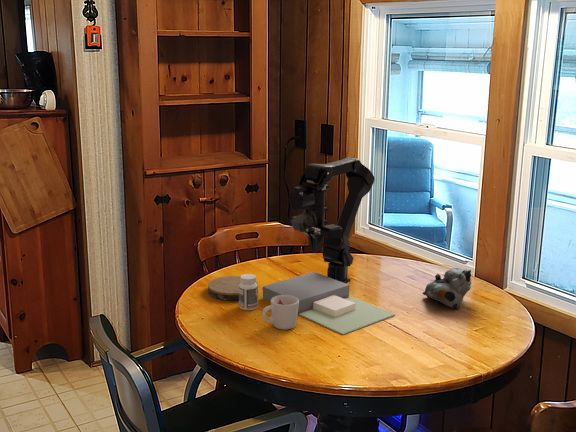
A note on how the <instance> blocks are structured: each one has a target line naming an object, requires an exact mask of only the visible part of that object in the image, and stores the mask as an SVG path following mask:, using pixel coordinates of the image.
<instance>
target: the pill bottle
mask: <svg viewBox="0 0 576 432" xmlns="http://www.w3.org/2000/svg"><path fill="white" fill-rule="evenodd" d="M240 280H241V283H240V284H239V301H238V305H239V306H238V308H240V310H244V311H254V310H257V309H258V306H259V296H258V295H259V284H258V285H257V283H258V282H257V276H256V275H255V274H252V273H244V274H241V277H240ZM255 281H256V282H257V283H256V282H255Z"/></svg>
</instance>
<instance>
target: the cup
mask: <svg viewBox="0 0 576 432" xmlns="http://www.w3.org/2000/svg"><path fill="white" fill-rule="evenodd" d="M298 307H299V299H298V298H296V297H294V296H290V295H278V296H275V297H273V298H272V299H271V302H270V305H267V306H264V308H263V310H262V313H261V314H262V319H263V321H264V322H266V323H272V325H273V326H274V327H275V328H277V329H280V330H283V331H284V330H286V331H287V330H291V329H293V328H295V326H296V325H297V320H298ZM268 311H270V312H271V313H270V317H269V318H268V317H267V312H268Z"/></svg>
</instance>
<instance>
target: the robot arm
mask: <svg viewBox="0 0 576 432" xmlns="http://www.w3.org/2000/svg"><path fill="white" fill-rule="evenodd" d="M339 175H344V176H345V178H346V179H347V180H346V187H347V191H348V193H347V195H346V199H345V200H344V203H343V207H342V209H341V212H340V215H339V218H338V221H337V223H336V224H333V223H332V224H328V220H327V219H325V217H326V216H325V215H326V212H328V210H329V209H328V207H327V206H326V190H329V189H330V186H329V185H328V183H330V182H331V181H332V179H333V178H334V177H337V176H339ZM374 183H375V175H374V174H373V172H372V171H371V170H370V169H369V168H368V167H367V166H365V165H364V164H363V163H362V162H361V160H360V159H358V158H355V157H345V158H343V159H340V160H336V161H333V162H332V161H331V162H329V163H308V164H307V165H306V166H305V167H304V171H303V173H302V174H301V176H300V178H299V180H298V183H297V186H295V187H293V191H292V192H291V193H290V194H289V195H288V198H287V200H288V201H287V202H288V205H289V207H290V208H291V209H292V210H293V211H300V210H302V213H301V214H297V215H295V216H291V217H290V219H289V221H288V222H289V226H290V227H292V229H293V230H294V231H297V232H299V233H303V234H305V235H306V238H307V239H308V242H309V243H308V244H309V245H310V248H311V252H312V253H317V252H318V251H319V248H320V247H321V246H322V248H321V252H322V253H321V254H322V258H323V262H324V263H328V264H327V270H326V271H327V272H326V273H327V274H326V276H327V277H330V278H332V279H335V280H337V281H340V282H343V283H348V282H351V281H352V279H351V278H349V277H348V270H349V267H351V265H352V264H353V262H354V257H353V254H351V253H350V248H351V245H350V239H349V236H350V234H351V231H352V228H353V225H354V222H355V220H356V216H357V214H358V211H359V208H360V206H361V202H362V199H363V198H364V197H365V196H366V195H368V193H370V191H371V190H372V187H373V185H374ZM323 241H324V242H323ZM322 242H323V244H322ZM321 244H322V245H321Z"/></svg>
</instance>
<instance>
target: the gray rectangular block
mask: <svg viewBox="0 0 576 432" xmlns="http://www.w3.org/2000/svg"><path fill="white" fill-rule="evenodd" d="M278 295H290V296H294V297H296V298H298V299H299V307H298V314H300V313H303V312H306V311H309V310H312V309H314V308H313V302H315V301H318V300H321V299H323V298H326V297H329V296H332V295H335V296H338V297H341V298H343V299H346V298H349V297H350V284H349V283H346V282H344V283H343V282H340V281H337V280H335V279H332V278H330V277H327V275H324V274H321V273H318V272H316V271H312V272H308V273H306V274H302V275H297V276H294V277H291V278H287V279H284V280H280V281H277V282H273V283H270V284H266V285H264V286H262V299H264V300H265V301H268V302H269V303H271V299H272V298H273V297H275V296H278ZM298 314H297V315H298Z"/></svg>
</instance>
